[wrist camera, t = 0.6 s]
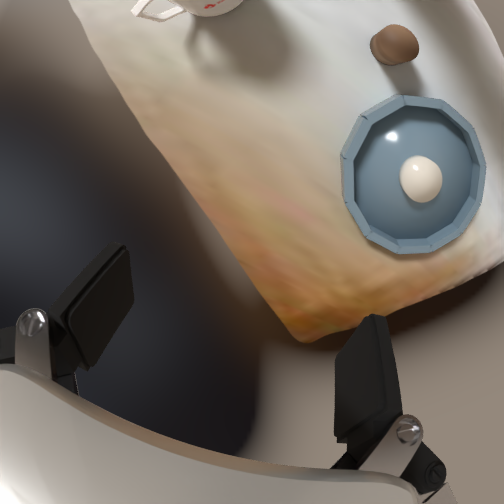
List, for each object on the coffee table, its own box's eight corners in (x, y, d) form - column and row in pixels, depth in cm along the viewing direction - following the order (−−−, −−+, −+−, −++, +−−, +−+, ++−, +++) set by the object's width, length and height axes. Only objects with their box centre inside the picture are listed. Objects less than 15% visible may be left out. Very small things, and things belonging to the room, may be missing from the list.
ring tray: (383, 64, 23) (390, 62, 21) (494, 155, 25) (504, 160, 22) (313, 203, 35) (314, 212, 33) (426, 263, 37) (431, 273, 34)
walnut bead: (376, 26, 21) (388, 17, 17) (408, 45, 21) (423, 40, 17) (364, 53, 23) (374, 46, 19) (396, 71, 23) (411, 69, 19)
